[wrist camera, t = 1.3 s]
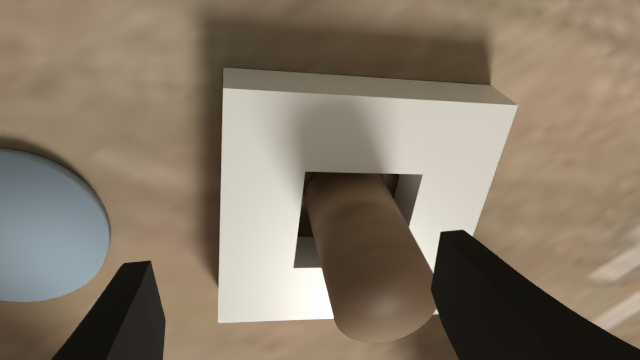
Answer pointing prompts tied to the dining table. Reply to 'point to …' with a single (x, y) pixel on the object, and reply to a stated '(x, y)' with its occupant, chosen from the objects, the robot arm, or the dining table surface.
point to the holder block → (341, 156)
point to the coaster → (47, 229)
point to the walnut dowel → (368, 257)
